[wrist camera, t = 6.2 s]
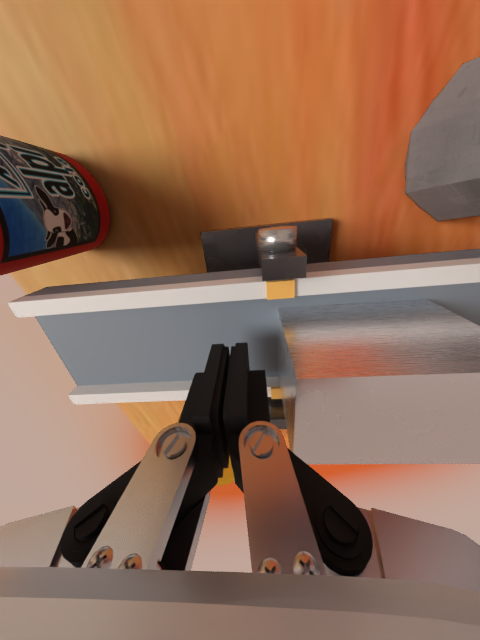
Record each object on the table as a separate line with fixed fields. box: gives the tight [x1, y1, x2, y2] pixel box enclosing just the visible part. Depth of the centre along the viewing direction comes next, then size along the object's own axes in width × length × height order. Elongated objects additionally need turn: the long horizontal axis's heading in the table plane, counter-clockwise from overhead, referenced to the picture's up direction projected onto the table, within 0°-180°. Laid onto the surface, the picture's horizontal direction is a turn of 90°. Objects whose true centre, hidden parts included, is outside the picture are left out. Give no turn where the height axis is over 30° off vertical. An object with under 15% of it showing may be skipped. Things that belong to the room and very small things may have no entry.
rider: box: [278, 299, 480, 464], centre depth 9 cm, size 4×7×5 cm, turn 95°
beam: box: [8, 249, 480, 404], centre depth 12 cm, size 7×26×2 cm, turn 96°
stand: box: [201, 218, 332, 429], centre depth 15 cm, size 11×24×11 cm, turn 96°
